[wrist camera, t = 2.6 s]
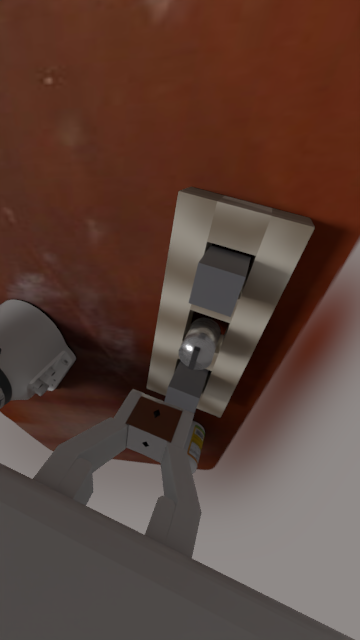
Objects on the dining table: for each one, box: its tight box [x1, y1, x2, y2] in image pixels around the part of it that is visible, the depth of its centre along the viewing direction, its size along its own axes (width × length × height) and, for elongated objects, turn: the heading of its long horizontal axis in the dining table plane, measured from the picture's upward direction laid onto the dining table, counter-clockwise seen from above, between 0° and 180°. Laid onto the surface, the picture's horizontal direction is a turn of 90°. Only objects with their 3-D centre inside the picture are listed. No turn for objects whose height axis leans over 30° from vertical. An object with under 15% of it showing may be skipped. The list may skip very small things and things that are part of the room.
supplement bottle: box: [184, 421, 205, 474], centre depth 44 cm, size 5×5×10 cm
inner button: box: [164, 360, 209, 413], centre depth 33 cm, size 4×4×5 cm
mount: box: [146, 187, 315, 418], centre depth 31 cm, size 28×12×4 cm, turn 169°
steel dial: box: [179, 317, 221, 370], centre depth 28 cm, size 4×4×6 cm
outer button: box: [189, 245, 251, 317], centre depth 23 cm, size 4×4×5 cm
